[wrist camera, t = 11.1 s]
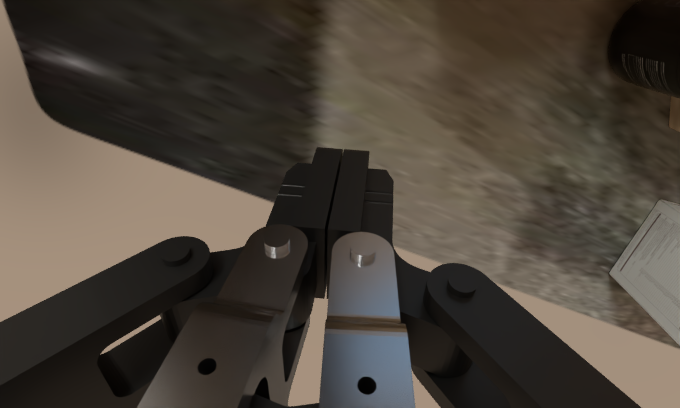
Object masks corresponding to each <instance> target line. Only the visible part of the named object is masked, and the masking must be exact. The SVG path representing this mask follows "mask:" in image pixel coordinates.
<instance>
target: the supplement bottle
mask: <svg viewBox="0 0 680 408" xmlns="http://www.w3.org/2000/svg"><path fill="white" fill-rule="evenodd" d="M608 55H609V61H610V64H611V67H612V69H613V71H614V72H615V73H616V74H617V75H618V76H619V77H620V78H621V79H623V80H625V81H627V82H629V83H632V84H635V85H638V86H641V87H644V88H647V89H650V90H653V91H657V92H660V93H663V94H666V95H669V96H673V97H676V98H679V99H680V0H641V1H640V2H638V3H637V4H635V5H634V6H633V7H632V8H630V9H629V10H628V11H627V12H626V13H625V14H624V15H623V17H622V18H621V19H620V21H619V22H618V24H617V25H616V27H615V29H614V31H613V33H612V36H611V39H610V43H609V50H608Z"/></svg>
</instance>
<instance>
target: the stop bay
mask: <svg viewBox="0 0 680 408" xmlns="http://www.w3.org/2000/svg"><path fill="white" fill-rule="evenodd" d="M669 128H672V129H674V130H676V131H678V132H680V99H679V98H676V97H673V96H671V105H670V119H669Z"/></svg>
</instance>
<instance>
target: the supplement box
mask: <svg viewBox="0 0 680 408" xmlns="http://www.w3.org/2000/svg"><path fill="white" fill-rule="evenodd" d="M609 274H610V275H611V276H612V277H613V278H614V279H615V280H616V281H617V282H618V283H619V284H620V285H621V286H622V287H623V288H624V289H625V290H626V291H627V293H628V294H629V295H630V296H631V297H632V298H633V299H634V300H635V301H636V302H637V303H638V304H639V305H640V306H641V307H642V308H643V309H644V310H645V311H646V312H647V313H648V314H649V315H650V316H651V317H652V318H653V319H654V320H655V321H656V322H657V323H658V324H659V325H660V326H661V327H662V328H663V329H664V330H665V331H666V332H667V333H668V334H669V335H670V336H671V337H672V338H673V339H674V341H675V342H676V343H677V344H678V345H679V346H680V204H677V203H673V202H669V201H666V200H659V201H658V202H657V204H656V205H655V207H654V208H653V210H652V211H651V213H650V214H649V216H648V217H647V219H646V220H645V221H644V223H643V224H642V226H641V227H640V229H639V230H638V232H637V233H636V234H635V236H634V237H633V239H632V240H631V242H630V243H629V245H628V246H627V248H626V249H625V250H624V252H623V253H622V255H621V256H620V258H619V259H618V261H617V262H616V264H615V265H614V267H613V268H612V269H611V271H610V272H609Z"/></svg>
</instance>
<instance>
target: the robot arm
mask: <svg viewBox="0 0 680 408" xmlns="http://www.w3.org/2000/svg"><path fill="white" fill-rule="evenodd" d="M368 163H369V151H359V150H347V149H344V152H343V150H342V149H333V148H320V147H317V149H316V152H315V155H314V158H313V161H312V164H306V163H297V164H296V165H294V166H293V167H292V168H291V169H290V170H288V171H287V172H286V175H285V178H284V180H283V183H282V186H281V188H280V190H279V195H278V196H277V198H276V201H275V203H274V206H273V209H272V211H271V214H270V216H269V219H268V221H267V224H266V227H263V228H261V229H259V230H257V231H256V232H254V233H253V234H252V235H251V236H250V237H249V239H248V241H247V242H246V244H245V246H243V247H240V248H237V249H232V250H225V251H218V252H211V253H210V251H209V248H208V246H207V244H205V242H203V241H202V240H200V239H198V238H194V237H188V236H183V237H182V236H181V237H175V238H170V239H167V240H165V241H162V242H160V243H158V244H156V245H154V246H152V247H150V248H148V249H146V250H144V251H142V252H140V253H138V254H136V255H134V256H132V257H130V258H128V259H126V260H124V261H122V262H120V263H118V264H116V265H114V266H112V267H110V268H108V269H106V270H104V271H102V272H100V273H98V274H96V275H94V276H92V277H90V278H88V279H86V280H84V281H82V282H80V283H78V284H76V285H74V286H72V287H70V288H68V289H66V290H64V291H62V292H60V293H58V294H56V295H54V296H52V297H50V298H48V299H46V300H44V301H42V302H40V303H38V304H36V305H34V306H32V307H30V308H28V309H26V310H24V311H22V312H20V313H18V314H16V315H14V316H12V317H10V318H8V319H6V320H4V321H2V322H0V408H415V399H414V390H413V381H412V373H411V372H412V371H413V373H414V374H415V376H416V377H417V379H418V380H419V381H420V382H421V384H422V385H423V386H424V387H425V389H426V390H427V391H428V392H429V393H430V395H431V396H432V397H433V398H434V400H435V401H436V402H437V403H438V405H439V406H440V407H441V408H641V407H640V406H639V405H638V404H636V403H635V402H634V401H633V400H632V399H630V398H629V397H628V396H627V395H626V394H625V393H623V392H622V391H621V390H620V389H619V388H617V387H616V386H615V385H614V384H613V383H611V382H610V381H609V380H608V379H607V378H606V377H605V376H603V375H602V374H601V373H600V372H599V371H597V370H596V369H595V368H594V367H593V366H592V365H590V364H589V363H588V362H587V361H586V360H585V359H583V358H582V357H581V356H580V355H579V354H577V353H576V352H575V351H574V350H573V349H571V348H570V347H569V346H568V345H567V344H566V343H564V342H563V341H562V340H561V339H560V338H559V337H557V336H556V335H555V334H554V333H553V332H552V331H550V330H549V329H548V328H547V327H546V326H544V325H543V324H542V323H541V322H540V321H538V320H537V319H536V318H535V317H534V316H533V315H532V314H530V313H529V312H528V311H527V310H526V309H524V308H523V307H522V306H521V305H520V304H519V303H517V302H516V301H515V300H514V299H513V298H511V297H510V296H509V295H508V294H507V293H506V292H504V291H503V290H502V289H501V288H500V287H498V286H497V285H496V284H495V283H494V282H493V281H491V280H490V279H489V278H488V277H487V276H486V275H484V274H483V273H482V272H480V271H479V270H477V269H475V268H473V267H470V266H467V265H464V264H458V263H449V264H443V265H440V266H438V267H436V268H435V269H433V270H432V271H431V272H428V271H425V270H422V269H419V268H417V267H414V266H412V265H410V264H408V263H407V262H405V261H404V260H403V259H402V258H400V257H399V255H398V254H397V253H396V251H395V250H394V247H393V243H392V229H393V180H392V178H391V176H390V175H389V173H388V172H387V170H380V169H368ZM326 286H327V299H328V312H327V319H326V323H325V334H324V348H323V361H322V374H321V387H320V399H319V403H315V404H308V405H301V406H294V407H293V406H292V407H289V406H288V398H289V393H290V389H291V385H292V382H293V378H294V375H295V372H296V368H297V365H298V362H299V358H300V355H301V351H302V348H303V344H304V341H305V338H306V334H307V331H308V328H309V324H310V314H311V311H312V307H313V302H314V298H323V299H324V297H325V291H326ZM158 315H160V316H161V319H160V320H159V321H157V322H156V323H154V324H152V325H151V326H149V327H147V328H146V329H144V330H142V331H141V332H139V333H138V334H136V335H134V336H133V337H131V338H129V339H128V340H126V341H124V342H123V343H121V344H120V345H118V346H116V347H115V348H113V349H112V350H110V351H108V352H106V353H104V354H101V352H102V351H103V350H104V349H105V348H106V347H107V346H109V345H110V344H112V343H113V342H115V341H116V340H118V339H120V338H122V337H123V336H125V335H126V334H128V333H130V332H132V331H133V330H135V329H137V328H138V327H140V326H141V325H143V324H145V323H146V322H148V321H150V320H151V319H153V318H155V317H156V316H158ZM100 354H101V355H100ZM411 368H412V371H411Z"/></svg>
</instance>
